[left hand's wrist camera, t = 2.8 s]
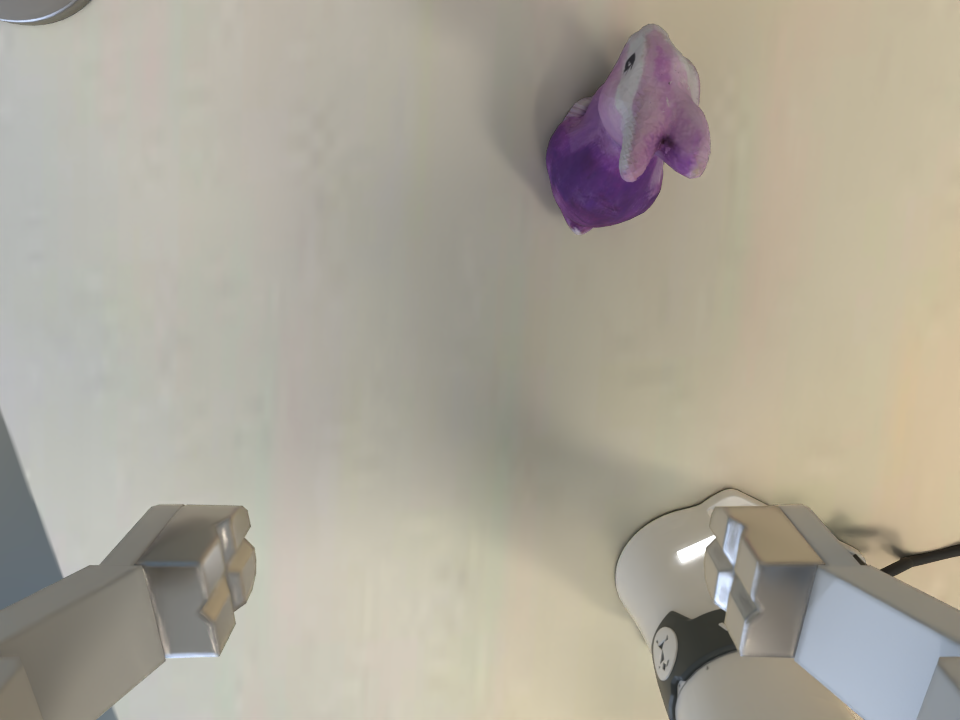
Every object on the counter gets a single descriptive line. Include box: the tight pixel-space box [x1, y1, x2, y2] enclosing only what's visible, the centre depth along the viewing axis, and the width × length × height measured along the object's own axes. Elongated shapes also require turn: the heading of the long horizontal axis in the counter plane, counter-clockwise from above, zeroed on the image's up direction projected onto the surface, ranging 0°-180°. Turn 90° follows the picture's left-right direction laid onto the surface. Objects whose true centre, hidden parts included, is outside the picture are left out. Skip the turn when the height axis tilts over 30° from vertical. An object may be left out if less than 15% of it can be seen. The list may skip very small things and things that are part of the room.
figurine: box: [546, 24, 711, 235], centre depth 36 cm, size 9×10×15 cm
